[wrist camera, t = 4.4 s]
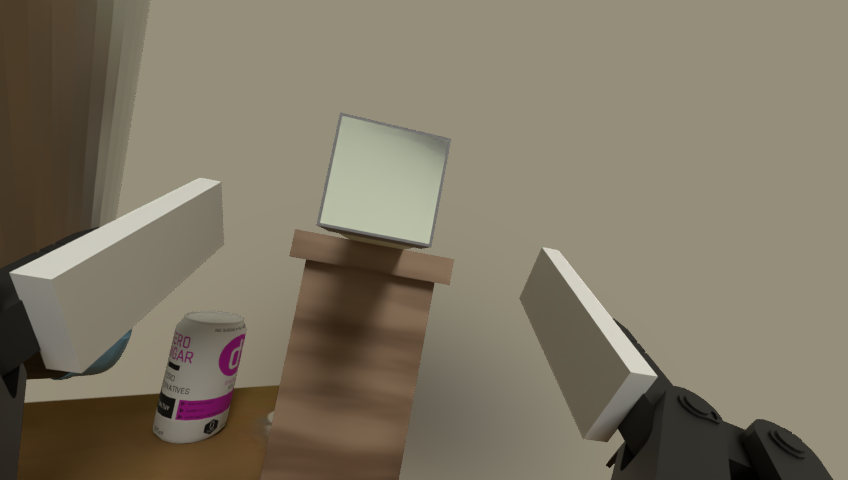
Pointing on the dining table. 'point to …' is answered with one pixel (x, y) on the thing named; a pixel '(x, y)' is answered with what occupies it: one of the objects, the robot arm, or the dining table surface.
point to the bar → (383, 183)
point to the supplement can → (199, 376)
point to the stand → (351, 360)
